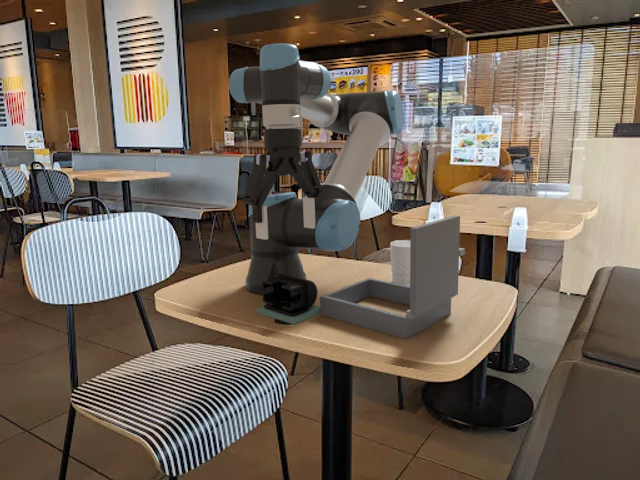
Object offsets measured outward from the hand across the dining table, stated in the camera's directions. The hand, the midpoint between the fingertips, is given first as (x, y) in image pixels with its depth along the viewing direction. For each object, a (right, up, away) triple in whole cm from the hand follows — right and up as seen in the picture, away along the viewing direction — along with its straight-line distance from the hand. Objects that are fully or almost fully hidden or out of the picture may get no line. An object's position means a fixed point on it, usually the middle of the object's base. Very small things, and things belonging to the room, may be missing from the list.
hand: (287, 233), depth 105 cm
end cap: (0, -16, +3) cm, 16 cm away
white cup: (+28, -12, +23) cm, 38 cm away
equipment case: (+22, -17, +1) cm, 27 cm away
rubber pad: (0, -17, +3) cm, 17 cm away
